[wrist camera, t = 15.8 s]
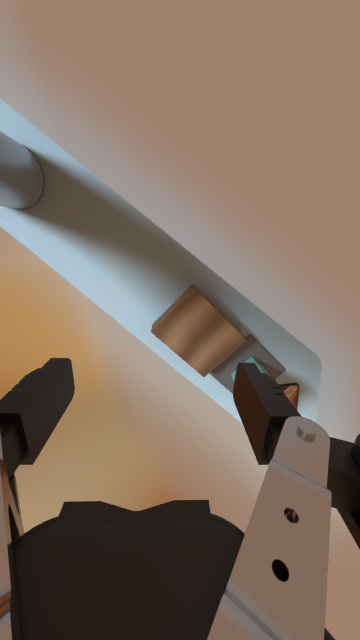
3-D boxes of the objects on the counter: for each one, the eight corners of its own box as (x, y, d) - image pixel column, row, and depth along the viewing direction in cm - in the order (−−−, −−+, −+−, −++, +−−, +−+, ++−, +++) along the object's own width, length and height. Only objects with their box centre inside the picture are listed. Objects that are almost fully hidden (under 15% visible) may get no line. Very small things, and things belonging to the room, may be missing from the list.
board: (152, 323, 44) (151, 332, 41) (192, 284, 42) (194, 288, 38) (201, 366, 48) (203, 377, 44) (240, 332, 46) (246, 340, 42)
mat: (207, 371, 49) (208, 372, 48) (250, 334, 46) (251, 335, 46) (242, 401, 52) (243, 402, 51) (284, 369, 49) (285, 370, 49)
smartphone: (300, 383, 50) (295, 434, 56) (298, 381, 51) (293, 431, 56) (267, 387, 50) (265, 438, 55) (265, 385, 51) (263, 435, 56)
